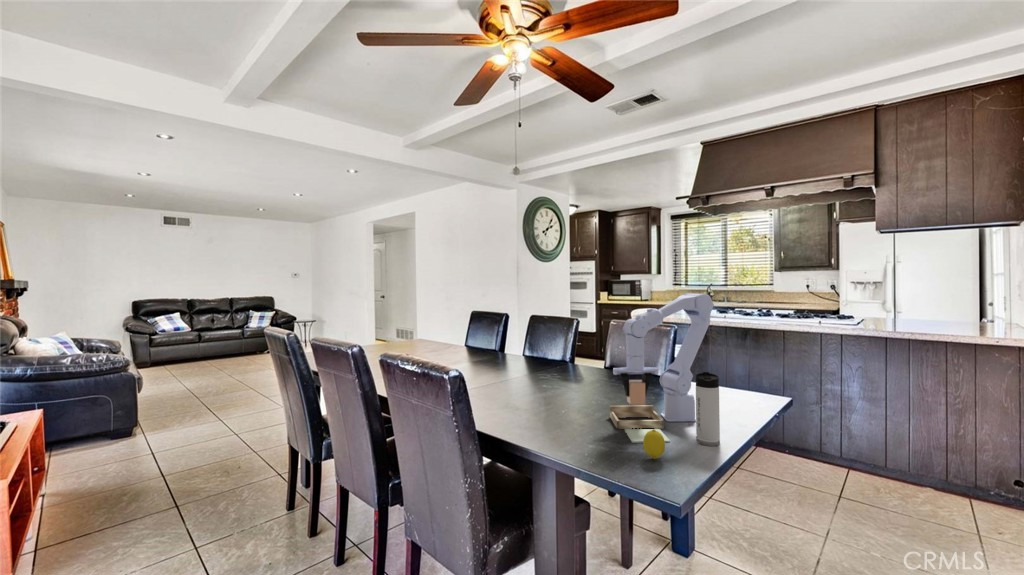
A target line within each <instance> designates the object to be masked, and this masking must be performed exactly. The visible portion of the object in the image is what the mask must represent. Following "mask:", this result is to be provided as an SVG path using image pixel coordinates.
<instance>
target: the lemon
mask: <svg viewBox="0 0 1024 575" xmlns="http://www.w3.org/2000/svg"><path fill="white" fill-rule="evenodd" d="M654 429H655V428H654ZM654 429H653V430H652V431H649V432H647V433H646V435H645V437H644V441H643V444H642V445H643V450H644V451H645V453H646V454H647V456H648V457H650V458H652V459H653V460H657V458H660V457H662V456H663V454H664V453H665V451H666V442H665V441H664V438H663V436H662V434H661V433H659V432H658V431H656V430H654Z"/></svg>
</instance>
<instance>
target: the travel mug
mask: <svg viewBox="0 0 1024 575" xmlns="http://www.w3.org/2000/svg"><path fill="white" fill-rule="evenodd" d="M695 420H696V421H695V426H696V427H695V428H696V429H695V430H696V431H695V432H696V433H695V434H696V435H695V437H696V442H697V443H699V444H700V445H702V446H706V445H707V447H716V445H717V446H719V445H720V444H721V434H720V433H721V432H720V431H721V429H720V420H721V419H720V378H719V376H718V375H716V374H715V373H710V371H703V372H700V373H697V374H696V375H695Z"/></svg>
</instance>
